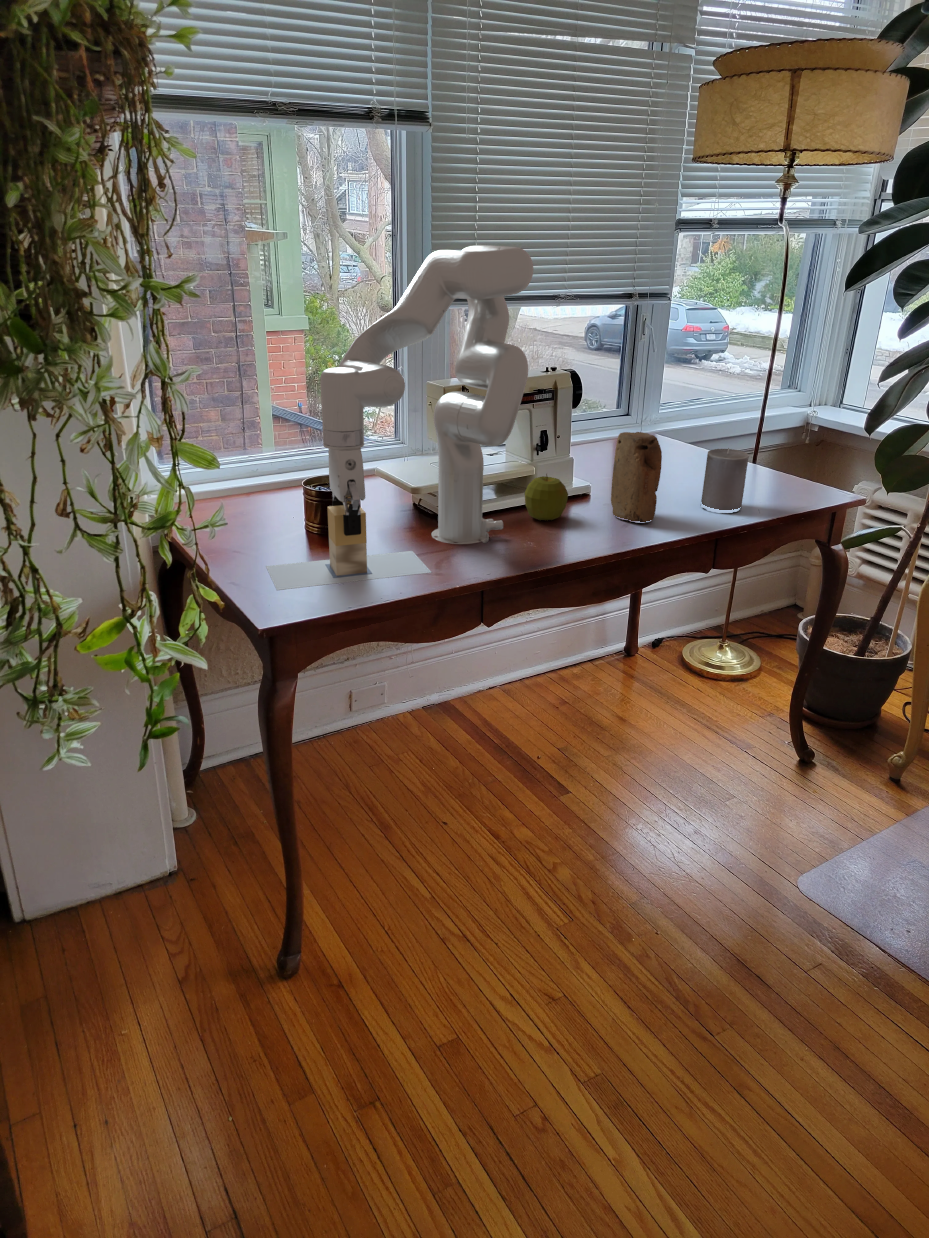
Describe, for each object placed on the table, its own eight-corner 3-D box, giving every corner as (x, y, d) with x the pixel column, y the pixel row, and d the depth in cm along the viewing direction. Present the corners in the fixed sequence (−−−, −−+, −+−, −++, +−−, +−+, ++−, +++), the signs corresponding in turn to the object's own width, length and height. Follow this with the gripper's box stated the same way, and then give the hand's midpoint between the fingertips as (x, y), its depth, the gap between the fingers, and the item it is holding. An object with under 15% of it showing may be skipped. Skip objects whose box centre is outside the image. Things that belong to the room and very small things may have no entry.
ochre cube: (358, 533, 181) (357, 503, 179) (366, 542, 176) (365, 512, 174) (328, 536, 179) (327, 506, 177) (335, 546, 174) (334, 515, 172)
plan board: (412, 556, 191) (412, 550, 191) (431, 578, 180) (431, 571, 179) (266, 571, 182) (265, 565, 181) (277, 596, 170) (276, 589, 170)
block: (606, 514, 220) (613, 431, 212) (631, 510, 223) (639, 428, 215) (634, 527, 211) (642, 440, 203) (660, 523, 214) (669, 437, 206)
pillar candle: (699, 501, 231) (706, 442, 225) (739, 503, 230) (747, 444, 223) (702, 513, 222) (709, 452, 216) (743, 515, 221) (752, 454, 215)
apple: (529, 526, 211) (531, 479, 206) (519, 513, 219) (521, 468, 215) (571, 524, 212) (574, 478, 208) (559, 512, 221) (562, 467, 216)
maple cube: (359, 562, 184) (358, 533, 181) (367, 572, 179) (366, 543, 176) (330, 565, 182) (328, 536, 179) (336, 575, 177) (335, 546, 174)
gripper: (375, 446, 163) (377, 539, 171) (352, 426, 178) (355, 512, 185) (333, 449, 161) (337, 543, 168) (313, 428, 176) (318, 515, 183)
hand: (346, 527), depth 177 cm, fingers open, 8 cm apart
